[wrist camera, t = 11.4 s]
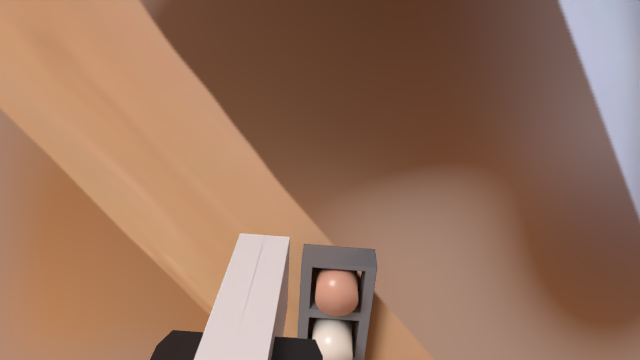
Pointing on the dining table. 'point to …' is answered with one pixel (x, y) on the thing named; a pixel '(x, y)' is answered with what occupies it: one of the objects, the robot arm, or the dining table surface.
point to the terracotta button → (336, 291)
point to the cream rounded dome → (333, 338)
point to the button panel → (345, 261)
